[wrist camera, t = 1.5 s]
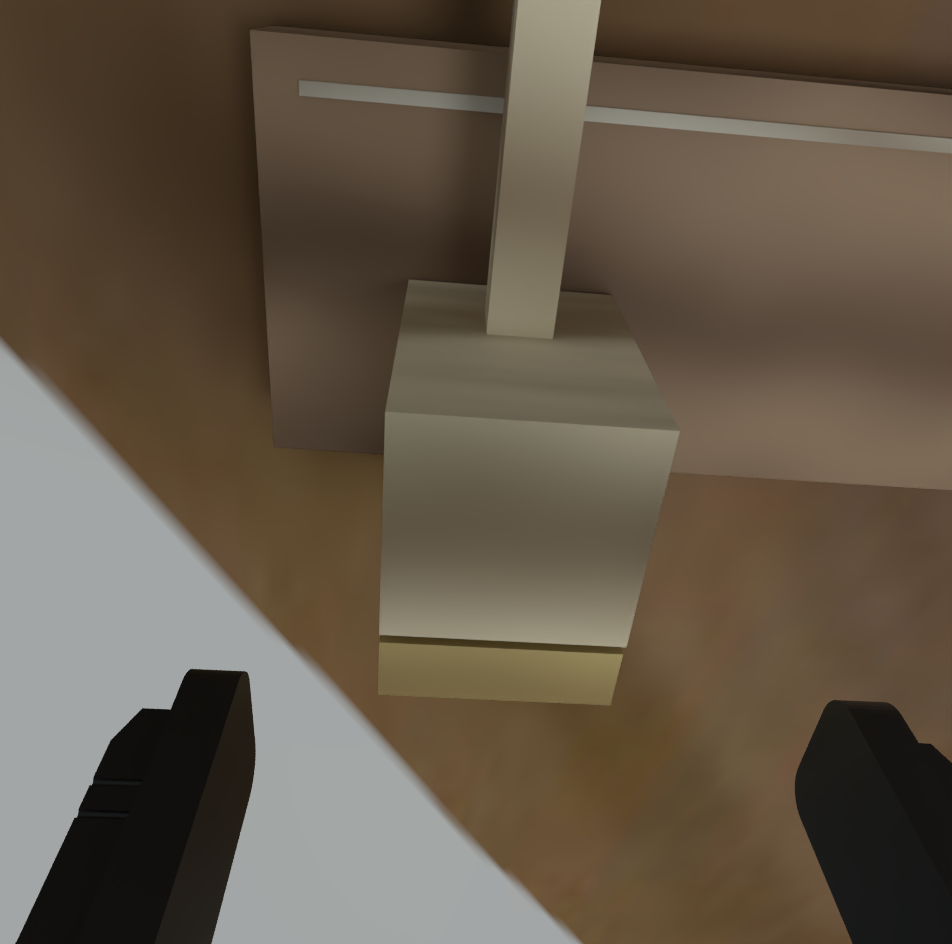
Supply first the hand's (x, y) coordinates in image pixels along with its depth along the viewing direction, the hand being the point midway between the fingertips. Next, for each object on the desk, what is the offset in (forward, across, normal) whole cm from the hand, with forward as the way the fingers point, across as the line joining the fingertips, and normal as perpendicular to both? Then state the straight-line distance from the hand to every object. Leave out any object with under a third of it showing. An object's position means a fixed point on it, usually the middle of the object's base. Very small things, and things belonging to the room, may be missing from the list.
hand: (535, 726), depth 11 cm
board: (+14, -8, -3) cm, 16 cm away
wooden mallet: (+13, 0, -3) cm, 14 cm away
